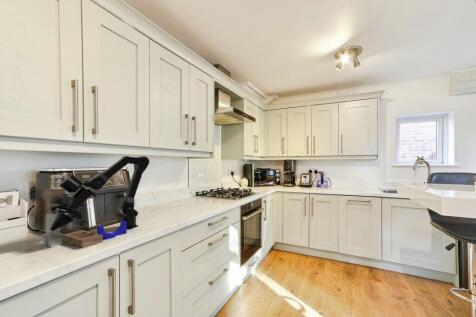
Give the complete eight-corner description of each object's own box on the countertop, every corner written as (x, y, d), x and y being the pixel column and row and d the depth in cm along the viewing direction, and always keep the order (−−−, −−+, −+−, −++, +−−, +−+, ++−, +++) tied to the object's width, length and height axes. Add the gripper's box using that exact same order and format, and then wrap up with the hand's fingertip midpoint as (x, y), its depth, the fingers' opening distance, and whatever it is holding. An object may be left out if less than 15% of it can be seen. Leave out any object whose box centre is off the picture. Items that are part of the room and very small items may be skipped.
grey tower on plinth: (42, 244, 93) (43, 213, 93) (54, 241, 97) (54, 211, 97) (51, 247, 90) (51, 215, 90) (62, 244, 93) (63, 213, 94)
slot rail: (62, 241, 97) (62, 234, 97) (82, 236, 104) (82, 229, 104) (82, 248, 90) (83, 240, 90) (102, 242, 97) (102, 235, 97)
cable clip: (101, 241, 98) (101, 227, 98) (96, 239, 101) (97, 225, 101) (128, 234, 108) (128, 222, 108) (123, 232, 110) (123, 220, 111)
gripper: (53, 187, 102) (21, 216, 92) (76, 189, 93) (43, 222, 83) (72, 201, 108) (44, 230, 98) (95, 205, 100) (66, 237, 90)
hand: (49, 229), depth 92 cm, fingers closed on grey tower on plinth, 3 cm apart
